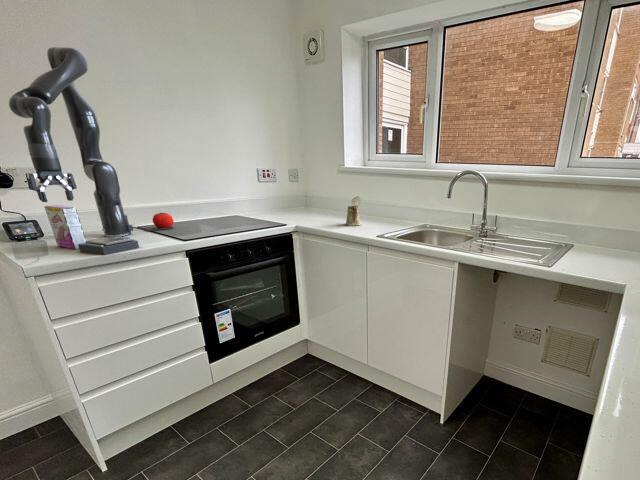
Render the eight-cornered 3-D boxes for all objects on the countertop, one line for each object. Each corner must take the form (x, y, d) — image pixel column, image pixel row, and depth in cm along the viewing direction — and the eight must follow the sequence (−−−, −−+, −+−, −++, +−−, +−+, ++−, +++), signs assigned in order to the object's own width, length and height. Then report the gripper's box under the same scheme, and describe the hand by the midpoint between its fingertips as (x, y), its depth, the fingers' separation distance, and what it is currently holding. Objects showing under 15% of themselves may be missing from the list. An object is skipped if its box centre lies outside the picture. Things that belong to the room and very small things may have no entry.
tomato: (163, 226, 192) (159, 210, 189) (180, 227, 191) (177, 211, 188) (149, 229, 184) (145, 213, 180) (167, 230, 182) (163, 214, 179)
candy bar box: (56, 246, 143) (43, 205, 137) (70, 244, 148) (58, 204, 142) (74, 249, 140) (61, 207, 134) (88, 247, 144) (76, 206, 139)
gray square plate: (114, 237, 148) (113, 235, 148) (133, 240, 145) (133, 238, 145) (86, 242, 138) (85, 240, 138) (106, 245, 135) (105, 243, 135)
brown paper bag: (350, 227, 209) (350, 196, 202) (343, 224, 220) (343, 194, 213) (364, 226, 212) (364, 196, 206) (357, 223, 224) (356, 194, 217)
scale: (116, 244, 150) (114, 237, 149) (139, 247, 147) (137, 239, 146) (80, 251, 138) (77, 243, 136) (104, 255, 134) (102, 246, 133)
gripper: (27, 156, 124) (42, 203, 130) (73, 157, 137) (84, 200, 143) (13, 155, 126) (29, 202, 132) (59, 157, 139) (71, 199, 145)
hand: (58, 201), depth 137 cm, fingers open, 8 cm apart
